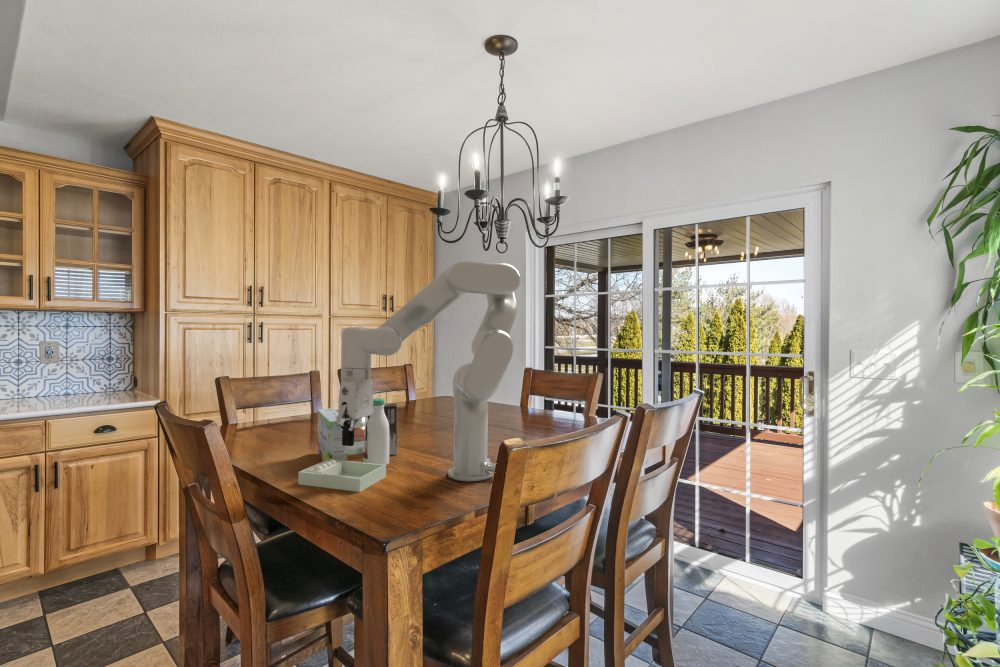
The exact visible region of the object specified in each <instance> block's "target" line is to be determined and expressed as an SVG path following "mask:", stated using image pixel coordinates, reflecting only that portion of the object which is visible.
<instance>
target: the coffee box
mask: <svg viewBox="0 0 1000 667" xmlns="http://www.w3.org/2000/svg"><path fill="white" fill-rule="evenodd" d="M397 406H398V405H397V403H396V402H395V403H392V402H391V403H384V413H385V415H386V418H387V420H388V423H389V456H397V455H398V407H397Z"/></svg>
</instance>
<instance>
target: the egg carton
mask: <svg viewBox="0 0 1000 667" xmlns="http://www.w3.org/2000/svg"><path fill="white" fill-rule="evenodd" d="M308 472H311V473H320V474H328V475H337V476H339V475H341V474H342V463H341V462H336V461H335V460H330V461H329V462H325V463H323V464H321V465H318V466H316V467H315V468H312V469H310V470H308Z"/></svg>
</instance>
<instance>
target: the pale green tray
mask: <svg viewBox="0 0 1000 667" xmlns="http://www.w3.org/2000/svg"><path fill="white" fill-rule="evenodd" d="M330 460H334V459H328V460H326V461H323V460H322V461H321V462H319V463H316V464H314V465H312V466H309V467H307V468H305V469H302V470H300V471H298V475H297V476H298V479H297V480H298V482H297V483H298V485H301V486H309V487H315V488H324V489H333V490H341V491H350V492H356V493H357V492H358V493H360V492H362V491H364V490H366V489H367V488H369V487H371V486H373V485H374V484H376V483H378V482H380V481H381V480H383V479H385V478H386V477H387V465H382V464H373V463H363V461H362V462H361V461H351V460H348V461H344V460H335V461H336V462H341V463H342V474H341V475H339V476H337V475H328V474H320V473H311V472H308V470H310V469H312V468H315V467H316V466H318V465H321V464H323V463H325V462H329V461H330Z"/></svg>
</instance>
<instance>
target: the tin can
mask: <svg viewBox="0 0 1000 667" xmlns="http://www.w3.org/2000/svg"><path fill="white" fill-rule="evenodd" d="M346 418H350V417H349V416H346ZM347 422H348V424H349V423H350V421H347ZM352 430H354V445H353V446H344V453H345V454H348V455H359V454H363V453H364V452H365V439H366V417H363V418H360V419H357V420H354V425H353V429H352Z"/></svg>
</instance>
